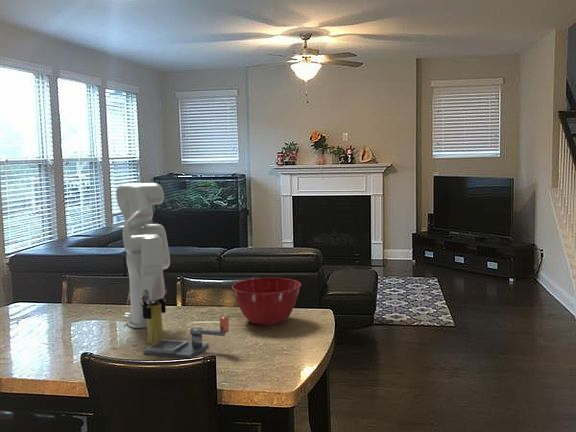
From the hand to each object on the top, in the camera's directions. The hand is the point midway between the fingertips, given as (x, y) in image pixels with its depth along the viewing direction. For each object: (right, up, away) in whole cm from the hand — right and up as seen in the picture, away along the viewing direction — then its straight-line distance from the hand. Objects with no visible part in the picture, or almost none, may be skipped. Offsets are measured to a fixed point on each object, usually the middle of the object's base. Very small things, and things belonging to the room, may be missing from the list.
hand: (154, 315), depth 223 cm
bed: (+10, -11, -9) cm, 17 cm away
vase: (0, -10, +2) cm, 10 cm away
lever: (+22, -5, -10) cm, 24 cm away
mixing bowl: (+41, -7, +27) cm, 50 cm away
